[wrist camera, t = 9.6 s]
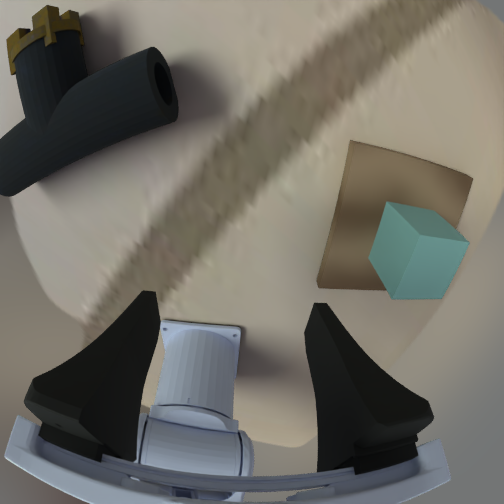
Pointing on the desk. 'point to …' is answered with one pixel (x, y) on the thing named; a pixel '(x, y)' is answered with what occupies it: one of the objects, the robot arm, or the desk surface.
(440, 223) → the teal cube
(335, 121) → the desk surface
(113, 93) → the pipe connector
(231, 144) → the desk surface
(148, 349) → the robot arm
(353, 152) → the base plate
